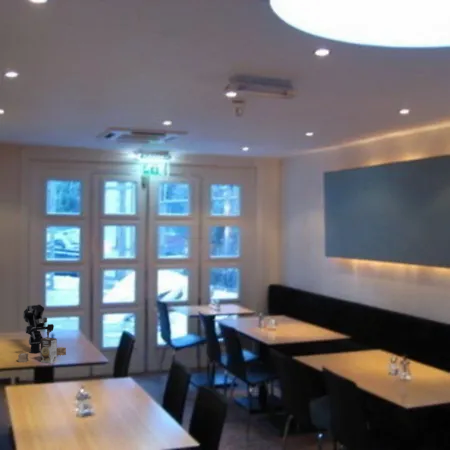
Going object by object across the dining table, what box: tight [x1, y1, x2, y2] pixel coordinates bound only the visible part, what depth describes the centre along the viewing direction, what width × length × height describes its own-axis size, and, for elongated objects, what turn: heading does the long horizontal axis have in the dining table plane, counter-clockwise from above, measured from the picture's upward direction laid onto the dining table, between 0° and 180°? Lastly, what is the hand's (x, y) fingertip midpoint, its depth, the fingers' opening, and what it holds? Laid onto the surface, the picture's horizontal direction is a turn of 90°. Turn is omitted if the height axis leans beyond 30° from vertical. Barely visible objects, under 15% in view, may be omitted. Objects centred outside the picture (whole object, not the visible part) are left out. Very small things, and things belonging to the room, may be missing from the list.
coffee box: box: [40, 336, 58, 364], centre depth 411 cm, size 9×6×16 cm
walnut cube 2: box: [57, 346, 67, 357], centre depth 433 cm, size 5×5×5 cm
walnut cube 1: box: [17, 353, 29, 363], centre depth 413 cm, size 5×5×5 cm
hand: (41, 338), depth 423 cm, fingers open, 9 cm apart
